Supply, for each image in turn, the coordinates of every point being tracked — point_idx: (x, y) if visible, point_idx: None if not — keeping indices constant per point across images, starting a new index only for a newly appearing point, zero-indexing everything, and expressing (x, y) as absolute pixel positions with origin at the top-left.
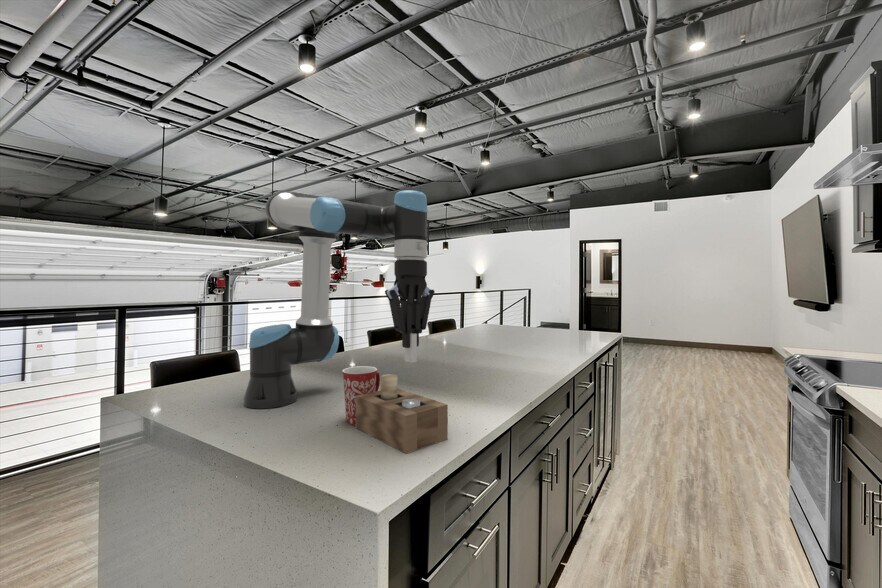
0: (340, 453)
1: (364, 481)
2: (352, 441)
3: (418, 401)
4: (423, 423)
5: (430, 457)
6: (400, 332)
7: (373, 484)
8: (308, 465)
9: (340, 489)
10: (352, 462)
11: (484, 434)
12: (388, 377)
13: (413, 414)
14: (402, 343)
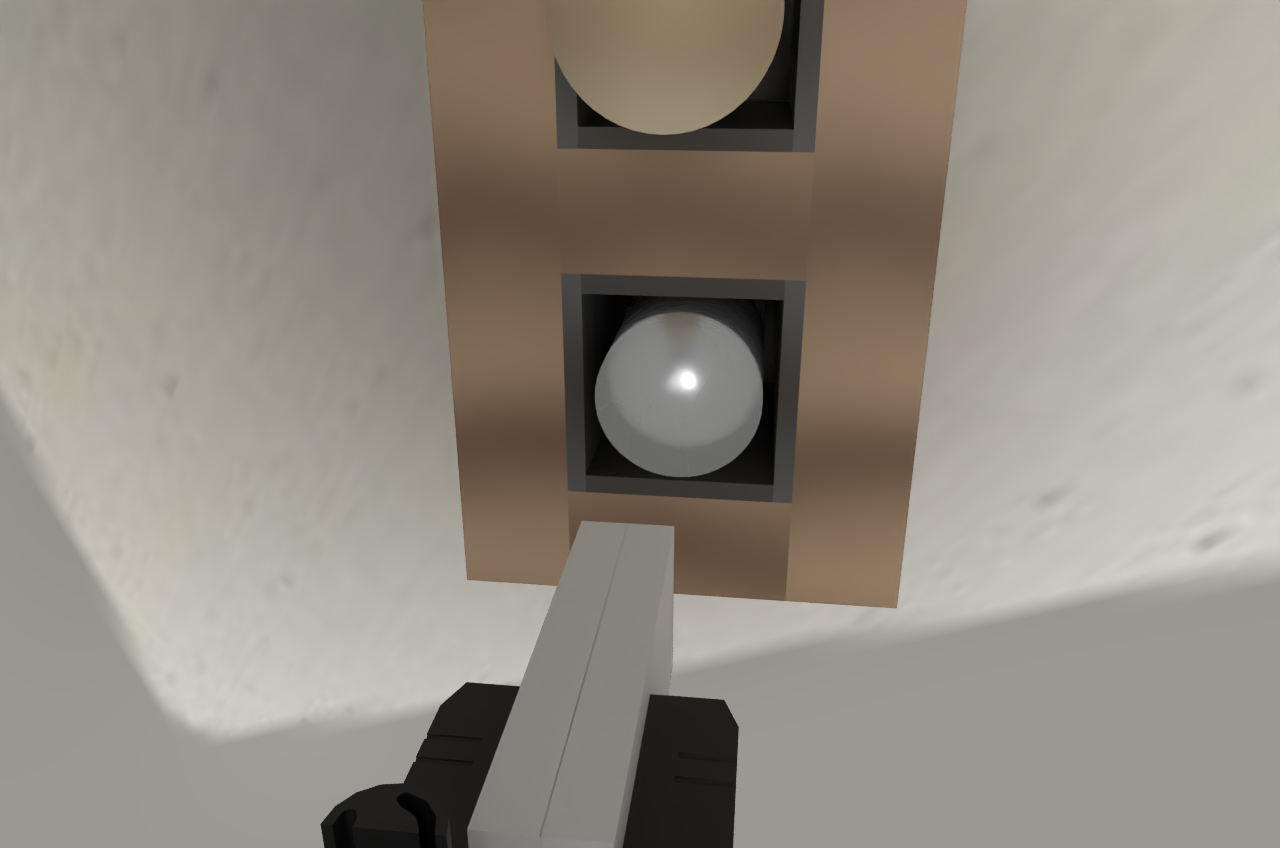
0: (221, 190)
1: (218, 549)
2: (354, 60)
3: (722, 451)
4: None
5: None
6: (371, 802)
7: (241, 595)
8: (24, 212)
9: (107, 535)
10: (239, 347)
11: (1107, 590)
12: (612, 77)
13: (538, 581)
14: (432, 730)
